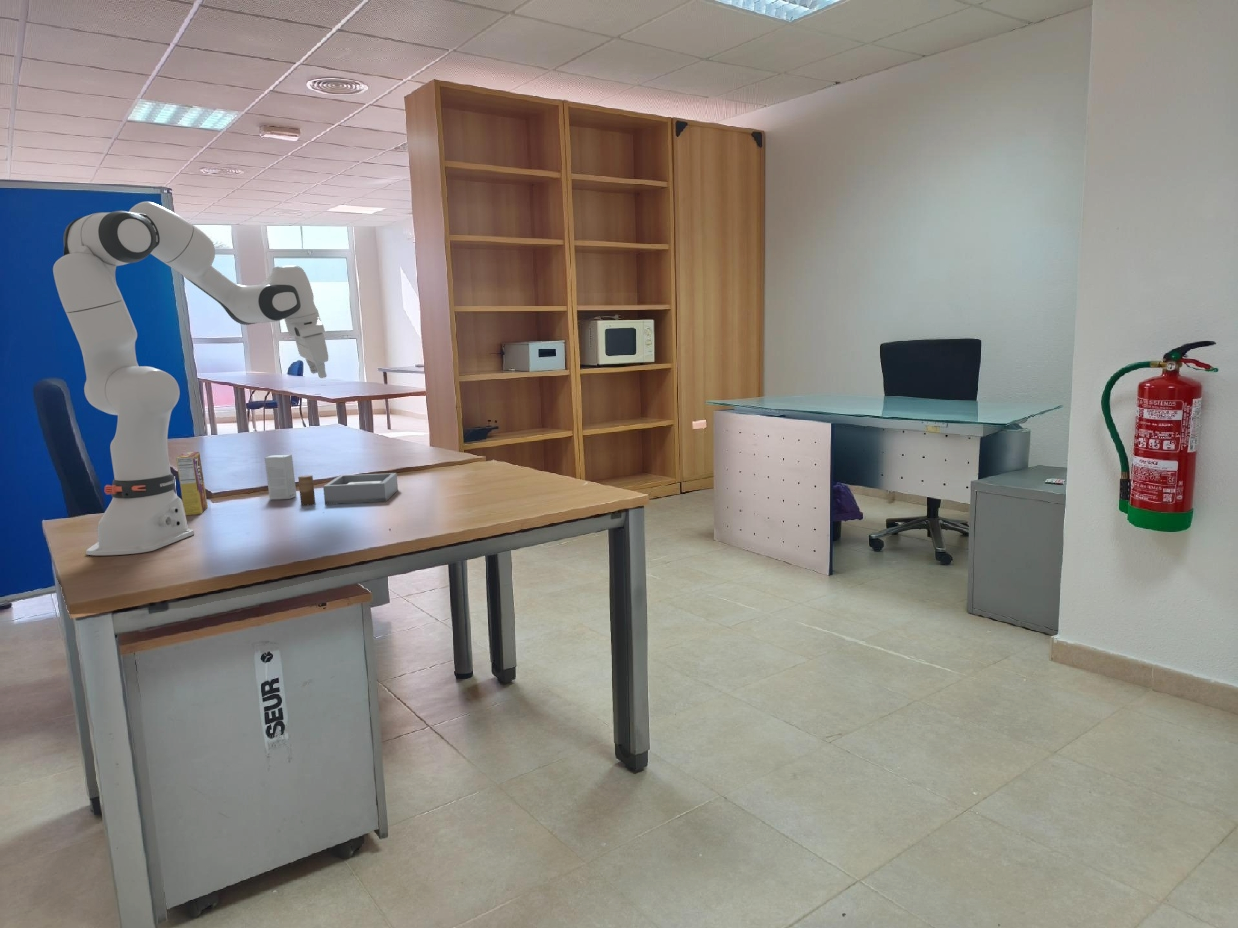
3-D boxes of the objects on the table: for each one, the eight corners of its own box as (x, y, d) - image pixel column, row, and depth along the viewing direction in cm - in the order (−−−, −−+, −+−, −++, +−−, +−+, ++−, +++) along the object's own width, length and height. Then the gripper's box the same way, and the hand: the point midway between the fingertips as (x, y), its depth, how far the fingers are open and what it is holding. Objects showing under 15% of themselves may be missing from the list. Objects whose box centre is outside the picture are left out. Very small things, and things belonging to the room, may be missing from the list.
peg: (313, 505, 212) (310, 477, 210) (299, 505, 211) (296, 478, 210) (317, 502, 215) (314, 475, 214) (303, 502, 215) (300, 475, 214)
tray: (385, 501, 213) (384, 483, 212) (324, 504, 212) (323, 486, 211) (397, 489, 228) (396, 472, 228) (341, 492, 227) (339, 475, 227)
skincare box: (297, 496, 224) (292, 454, 222) (289, 499, 220) (285, 457, 218) (276, 496, 225) (272, 454, 223) (268, 499, 221) (264, 457, 219)
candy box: (190, 508, 212) (183, 452, 210) (208, 507, 213) (201, 451, 211) (182, 515, 204) (175, 457, 201) (201, 514, 205) (194, 456, 202)
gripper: (284, 325, 221) (299, 373, 226) (300, 331, 204) (315, 383, 209) (307, 320, 224) (321, 367, 229) (325, 326, 207) (339, 377, 212)
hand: (318, 375), depth 219 cm, fingers open, 8 cm apart
